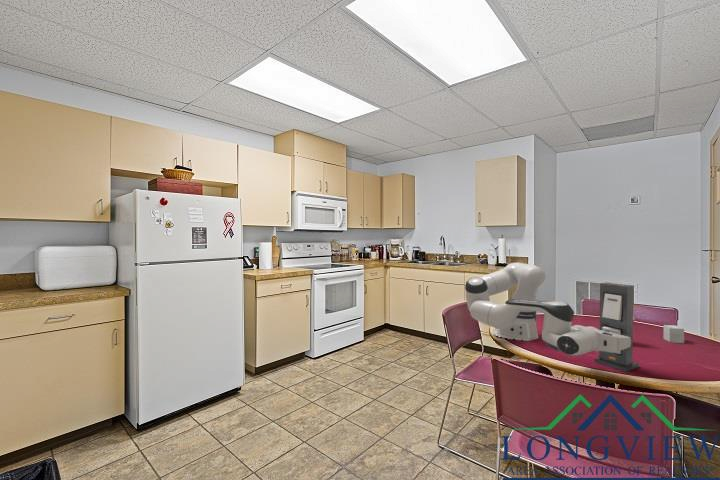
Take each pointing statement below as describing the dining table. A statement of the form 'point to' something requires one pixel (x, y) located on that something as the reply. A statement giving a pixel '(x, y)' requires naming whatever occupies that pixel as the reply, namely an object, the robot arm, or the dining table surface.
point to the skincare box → (673, 333)
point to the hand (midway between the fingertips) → (608, 332)
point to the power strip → (618, 327)
